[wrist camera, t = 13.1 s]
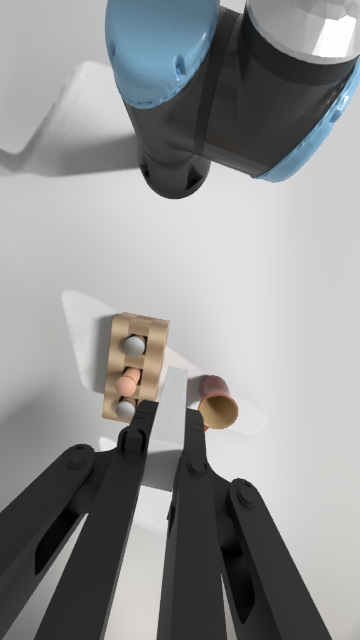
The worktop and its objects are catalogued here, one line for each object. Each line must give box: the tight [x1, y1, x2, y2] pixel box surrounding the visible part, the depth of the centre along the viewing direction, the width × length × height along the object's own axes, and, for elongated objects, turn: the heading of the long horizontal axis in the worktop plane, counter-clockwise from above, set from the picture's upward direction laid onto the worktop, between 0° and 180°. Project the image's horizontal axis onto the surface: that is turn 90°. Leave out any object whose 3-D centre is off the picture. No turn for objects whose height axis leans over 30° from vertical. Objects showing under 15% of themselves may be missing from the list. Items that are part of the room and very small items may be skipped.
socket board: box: [102, 312, 170, 423], centre depth 47 cm, size 26×12×7 cm, turn 169°
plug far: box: [116, 397, 138, 419], centre depth 47 cm, size 4×4×9 cm
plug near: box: [124, 334, 148, 357], centre depth 44 cm, size 4×4×9 cm
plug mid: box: [115, 366, 143, 397], centre depth 43 cm, size 4×4×9 cm
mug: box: [198, 375, 238, 432], centre depth 46 cm, size 12×9×10 cm
